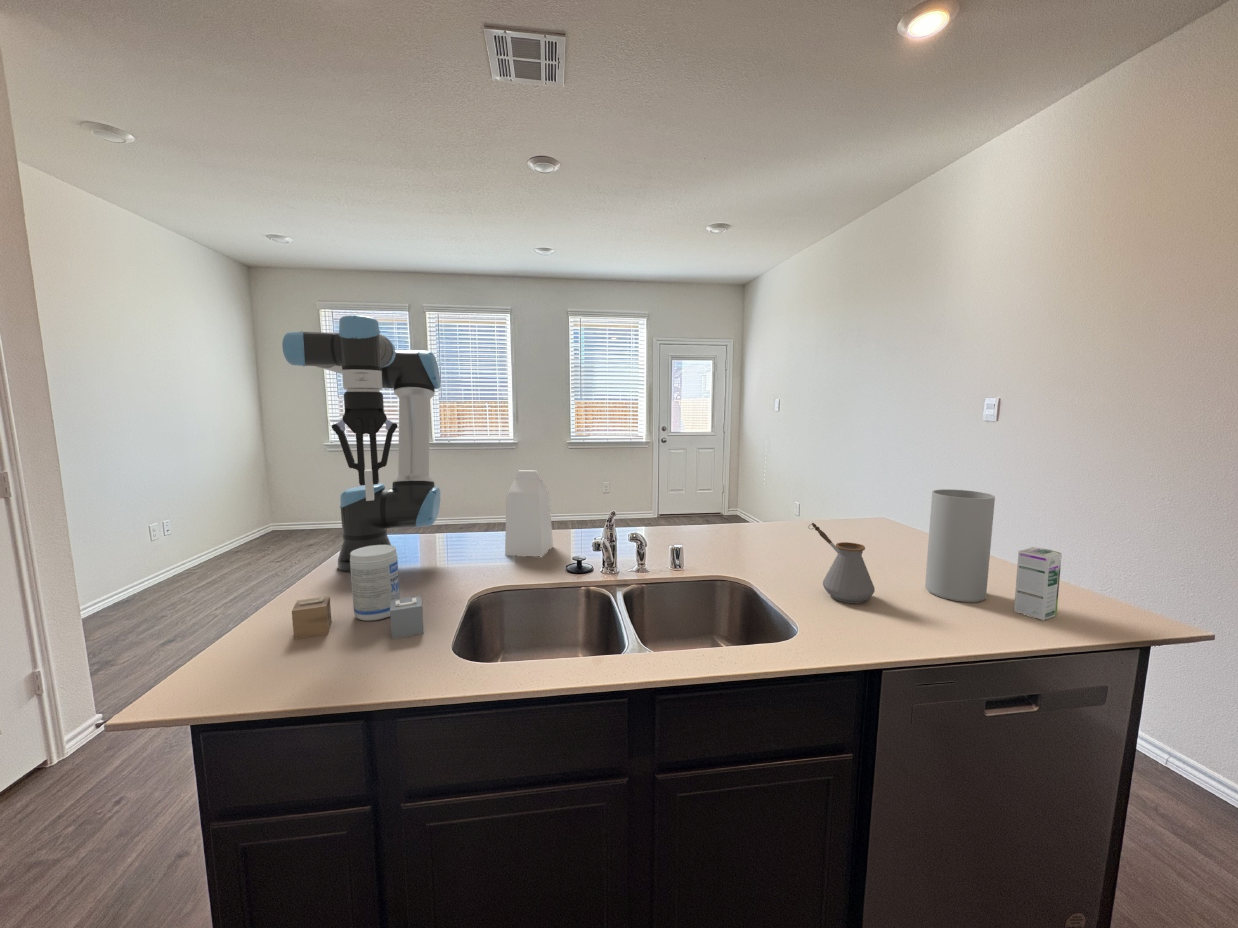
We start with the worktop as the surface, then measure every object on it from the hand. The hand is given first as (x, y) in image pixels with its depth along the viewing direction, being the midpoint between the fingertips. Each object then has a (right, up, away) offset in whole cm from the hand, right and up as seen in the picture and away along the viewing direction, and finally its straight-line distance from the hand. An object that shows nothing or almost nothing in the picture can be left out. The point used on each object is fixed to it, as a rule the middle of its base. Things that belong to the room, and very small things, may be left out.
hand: (370, 499), depth 110 cm
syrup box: (+147, -26, +2) cm, 149 cm away
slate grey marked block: (+10, -27, -5) cm, 29 cm away
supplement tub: (0, -26, +3) cm, 26 cm away
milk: (+26, -20, +51) cm, 60 cm away
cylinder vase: (+138, -24, +14) cm, 140 cm away
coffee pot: (+109, -24, +16) cm, 113 cm away
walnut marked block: (-9, -27, -5) cm, 29 cm away
